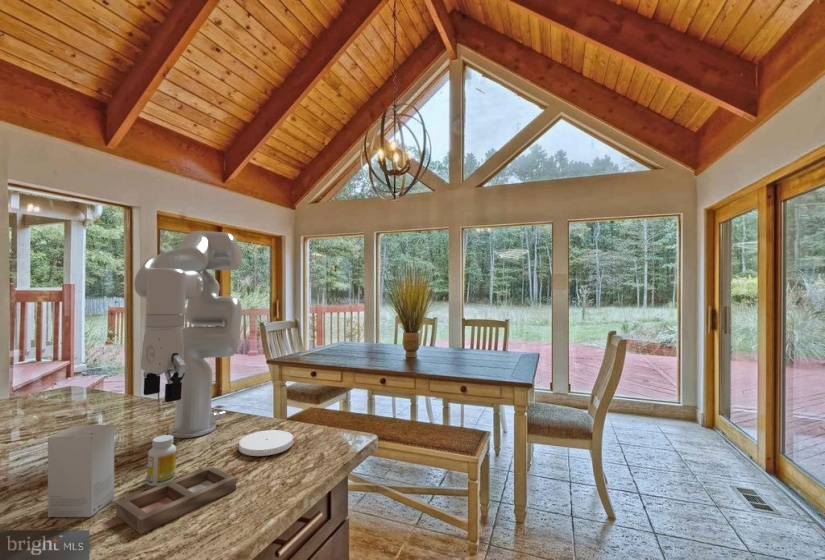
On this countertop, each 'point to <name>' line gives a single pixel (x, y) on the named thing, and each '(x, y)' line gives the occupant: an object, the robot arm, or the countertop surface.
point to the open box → (174, 498)
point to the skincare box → (80, 470)
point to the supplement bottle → (161, 461)
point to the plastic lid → (265, 442)
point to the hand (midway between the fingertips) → (162, 397)
